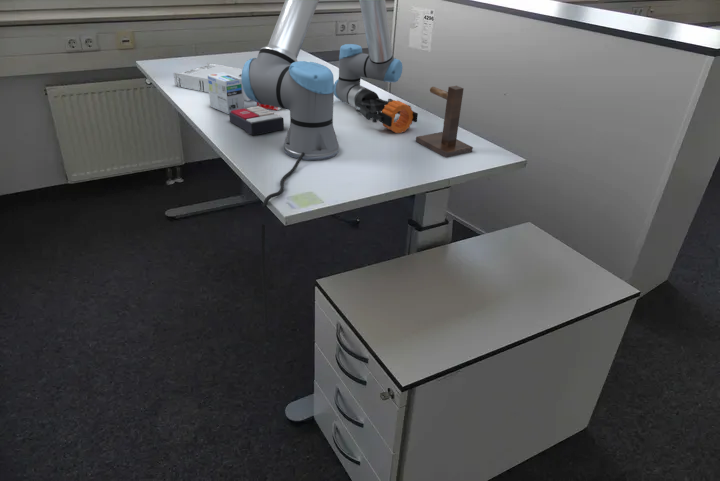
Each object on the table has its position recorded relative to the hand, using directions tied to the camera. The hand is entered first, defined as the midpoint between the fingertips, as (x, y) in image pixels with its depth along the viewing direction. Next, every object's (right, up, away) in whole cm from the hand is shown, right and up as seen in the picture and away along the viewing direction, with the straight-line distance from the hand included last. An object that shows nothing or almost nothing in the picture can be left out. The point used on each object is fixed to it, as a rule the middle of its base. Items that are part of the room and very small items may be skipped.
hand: (403, 120), depth 170 cm
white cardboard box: (-62, +20, +37) cm, 75 cm away
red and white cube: (-43, +9, +21) cm, 49 cm away
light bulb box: (-58, +7, +15) cm, 60 cm away
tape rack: (+11, -9, -5) cm, 15 cm away
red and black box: (-45, -1, +3) cm, 46 cm away
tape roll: (-2, -2, +5) cm, 6 cm away
